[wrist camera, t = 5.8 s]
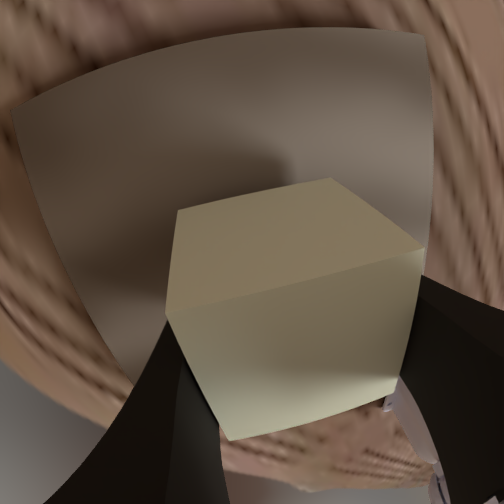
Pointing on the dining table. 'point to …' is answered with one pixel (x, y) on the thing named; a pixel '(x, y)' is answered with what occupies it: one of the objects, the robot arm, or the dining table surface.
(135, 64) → the taupe base
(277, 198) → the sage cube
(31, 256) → the dining table surface
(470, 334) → the robot arm
